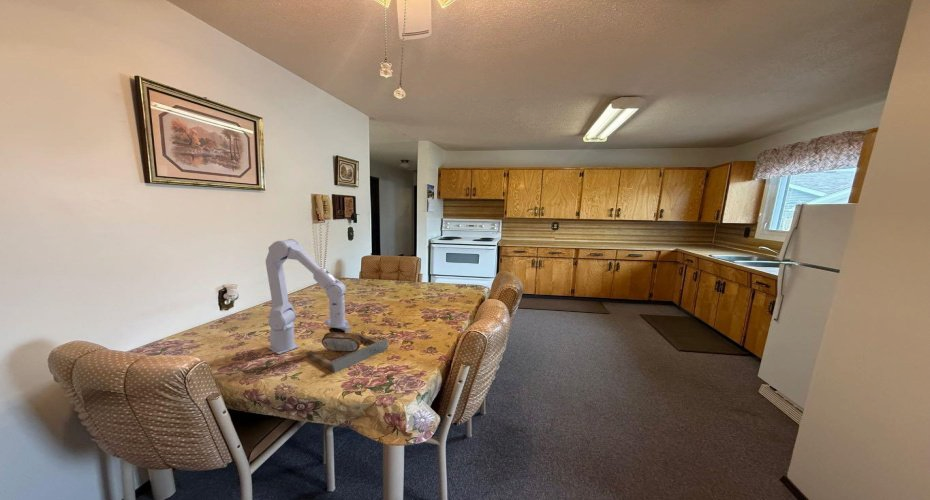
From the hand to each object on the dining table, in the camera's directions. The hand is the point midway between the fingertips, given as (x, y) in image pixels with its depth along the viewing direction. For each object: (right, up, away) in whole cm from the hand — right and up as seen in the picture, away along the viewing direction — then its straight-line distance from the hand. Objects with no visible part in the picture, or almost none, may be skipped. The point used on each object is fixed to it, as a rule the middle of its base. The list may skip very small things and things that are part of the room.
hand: (338, 344), depth 122 cm
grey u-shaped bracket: (+5, -2, -4) cm, 7 cm away
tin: (+3, -2, -2) cm, 4 cm away
